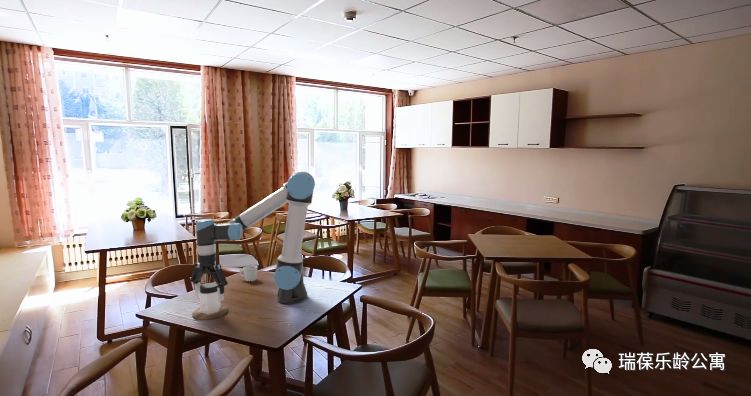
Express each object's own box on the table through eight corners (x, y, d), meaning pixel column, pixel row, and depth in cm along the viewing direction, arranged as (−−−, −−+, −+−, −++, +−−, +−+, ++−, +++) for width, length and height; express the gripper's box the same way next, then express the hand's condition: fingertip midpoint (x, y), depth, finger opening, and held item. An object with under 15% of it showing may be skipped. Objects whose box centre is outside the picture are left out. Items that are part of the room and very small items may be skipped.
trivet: (234, 309, 183) (234, 306, 183) (210, 322, 169) (210, 319, 169) (210, 305, 188) (210, 303, 188) (185, 317, 175) (184, 314, 174)
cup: (236, 282, 224) (236, 268, 224) (243, 278, 232) (242, 265, 231) (254, 282, 223) (253, 269, 222) (260, 278, 230) (259, 265, 230)
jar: (196, 312, 176) (194, 287, 175) (210, 306, 184) (208, 281, 183) (211, 315, 173) (210, 289, 172) (224, 308, 181) (223, 283, 179)
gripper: (234, 253, 175) (236, 299, 177) (192, 249, 184) (195, 293, 186) (221, 257, 168) (224, 304, 170) (179, 253, 177) (182, 298, 179)
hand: (209, 298), depth 178 cm, fingers open, 13 cm apart
